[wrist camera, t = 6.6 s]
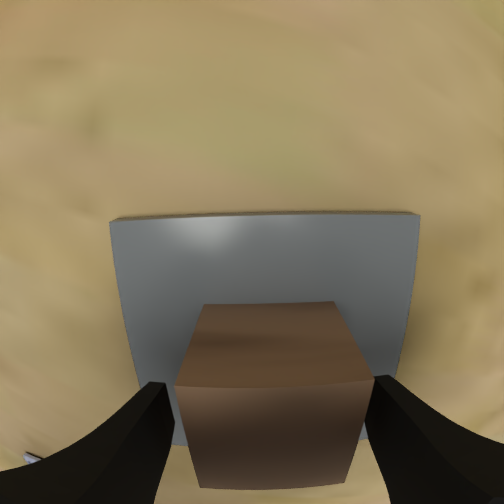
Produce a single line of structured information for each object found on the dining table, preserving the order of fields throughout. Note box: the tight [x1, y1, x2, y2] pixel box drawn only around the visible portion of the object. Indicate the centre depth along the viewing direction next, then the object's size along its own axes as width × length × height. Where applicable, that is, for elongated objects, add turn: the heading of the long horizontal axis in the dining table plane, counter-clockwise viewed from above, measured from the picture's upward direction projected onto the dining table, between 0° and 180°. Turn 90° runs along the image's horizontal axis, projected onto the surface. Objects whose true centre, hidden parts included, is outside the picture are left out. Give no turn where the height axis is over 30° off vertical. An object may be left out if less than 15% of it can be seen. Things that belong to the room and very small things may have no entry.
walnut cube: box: [174, 301, 375, 490], centre depth 10 cm, size 5×5×5 cm
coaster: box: [109, 211, 420, 446], centre depth 13 cm, size 12×12×1 cm
